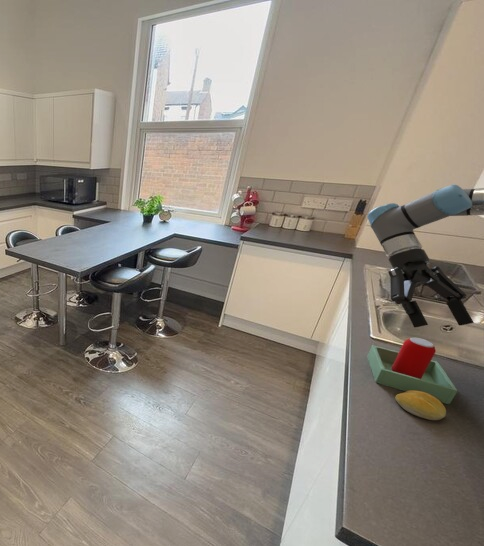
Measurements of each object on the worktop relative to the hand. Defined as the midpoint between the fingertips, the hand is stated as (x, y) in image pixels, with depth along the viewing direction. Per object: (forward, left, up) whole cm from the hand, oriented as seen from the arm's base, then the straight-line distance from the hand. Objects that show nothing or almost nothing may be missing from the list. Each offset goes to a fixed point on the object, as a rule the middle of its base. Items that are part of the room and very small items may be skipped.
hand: (444, 325), depth 81 cm
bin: (+2, -2, -19) cm, 19 cm away
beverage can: (+2, -2, -19) cm, 19 cm away
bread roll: (+2, +12, -20) cm, 23 cm away
